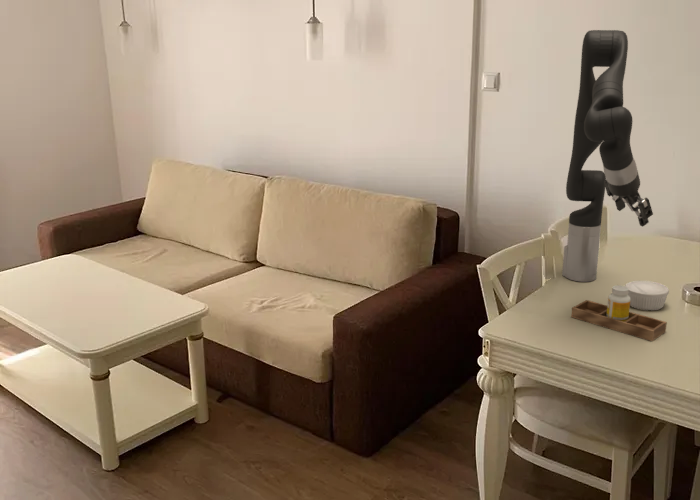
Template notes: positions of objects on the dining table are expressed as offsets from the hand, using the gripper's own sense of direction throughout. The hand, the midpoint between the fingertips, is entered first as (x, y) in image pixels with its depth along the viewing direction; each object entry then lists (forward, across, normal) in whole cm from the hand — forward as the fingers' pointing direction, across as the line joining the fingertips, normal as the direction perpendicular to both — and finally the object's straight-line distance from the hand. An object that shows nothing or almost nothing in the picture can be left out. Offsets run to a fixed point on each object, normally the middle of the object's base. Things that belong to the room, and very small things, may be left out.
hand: (632, 216), depth 187 cm
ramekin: (+26, -7, +8) cm, 28 cm away
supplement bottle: (+14, -14, +20) cm, 28 cm away
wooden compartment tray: (+14, -14, +20) cm, 29 cm away
